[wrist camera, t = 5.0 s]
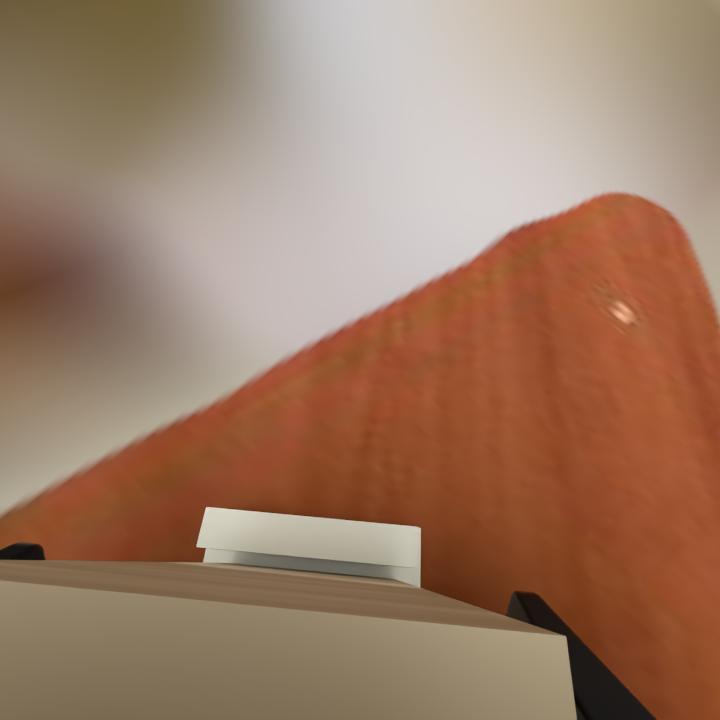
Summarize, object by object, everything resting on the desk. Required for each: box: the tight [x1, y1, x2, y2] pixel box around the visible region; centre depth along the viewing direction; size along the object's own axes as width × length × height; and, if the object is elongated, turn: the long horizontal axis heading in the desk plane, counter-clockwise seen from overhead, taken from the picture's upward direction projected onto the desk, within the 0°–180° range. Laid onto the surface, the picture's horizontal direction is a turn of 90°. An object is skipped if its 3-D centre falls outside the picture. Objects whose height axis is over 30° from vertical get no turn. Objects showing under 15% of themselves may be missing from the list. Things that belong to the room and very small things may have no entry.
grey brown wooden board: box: [0, 560, 577, 720], centre depth 8 cm, size 2×6×13 cm, turn 85°
